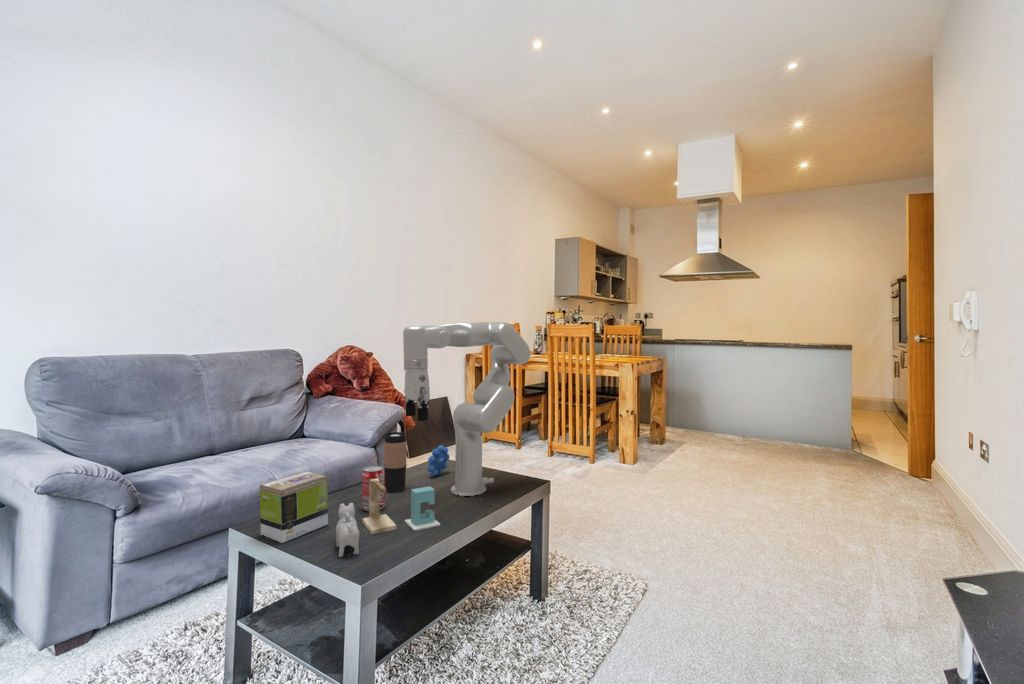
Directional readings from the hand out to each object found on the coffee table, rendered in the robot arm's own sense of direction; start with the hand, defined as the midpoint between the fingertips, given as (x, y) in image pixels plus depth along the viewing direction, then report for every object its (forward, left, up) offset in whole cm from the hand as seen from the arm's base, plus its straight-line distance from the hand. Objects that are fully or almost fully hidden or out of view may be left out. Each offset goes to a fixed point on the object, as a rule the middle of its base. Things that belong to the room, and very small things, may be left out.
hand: (416, 418), depth 156 cm
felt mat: (+3, +13, -29) cm, 32 cm away
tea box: (+36, 0, -29) cm, 46 cm away
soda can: (+12, -6, -29) cm, 32 cm away
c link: (+3, +13, -29) cm, 32 cm away
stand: (+14, +9, -29) cm, 34 cm away
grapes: (-20, -30, -29) cm, 47 cm away
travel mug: (0, -21, -29) cm, 36 cm away
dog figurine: (+26, +18, -29) cm, 43 cm away
